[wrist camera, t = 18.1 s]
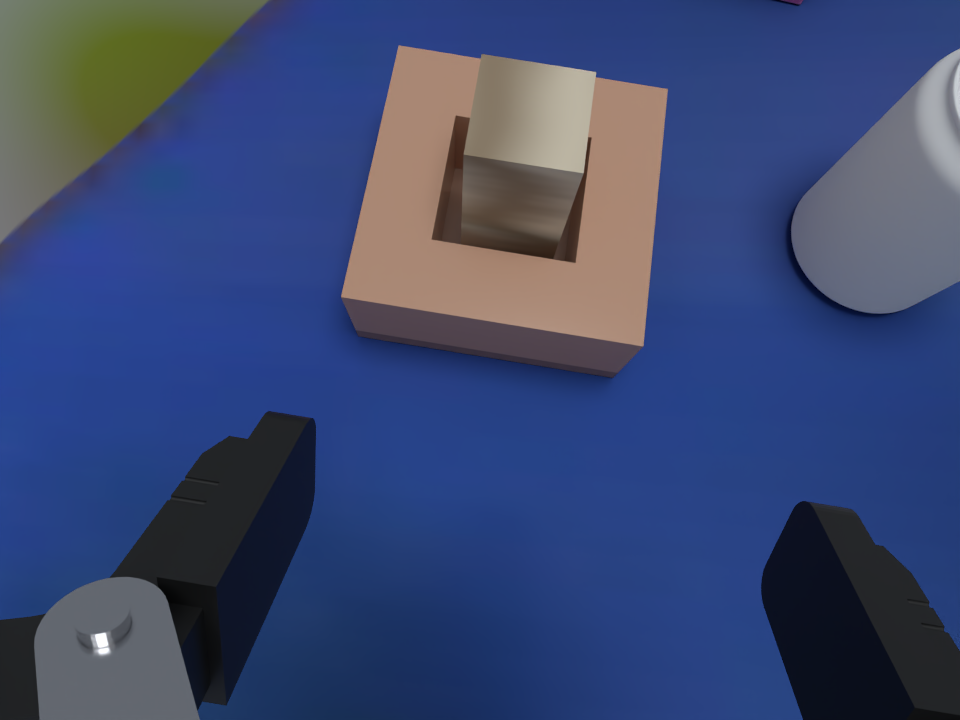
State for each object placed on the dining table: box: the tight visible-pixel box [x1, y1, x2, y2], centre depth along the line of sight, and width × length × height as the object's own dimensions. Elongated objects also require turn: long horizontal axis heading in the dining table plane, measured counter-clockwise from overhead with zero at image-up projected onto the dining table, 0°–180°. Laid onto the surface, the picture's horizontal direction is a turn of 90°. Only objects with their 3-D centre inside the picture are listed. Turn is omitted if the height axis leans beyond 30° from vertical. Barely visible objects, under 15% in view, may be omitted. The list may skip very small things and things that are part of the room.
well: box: [341, 46, 668, 378], centre depth 33 cm, size 13×13×6 cm
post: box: [461, 54, 596, 259], centre depth 30 cm, size 4×4×10 cm
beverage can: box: [791, 49, 960, 314], centre depth 30 cm, size 8×8×12 cm
